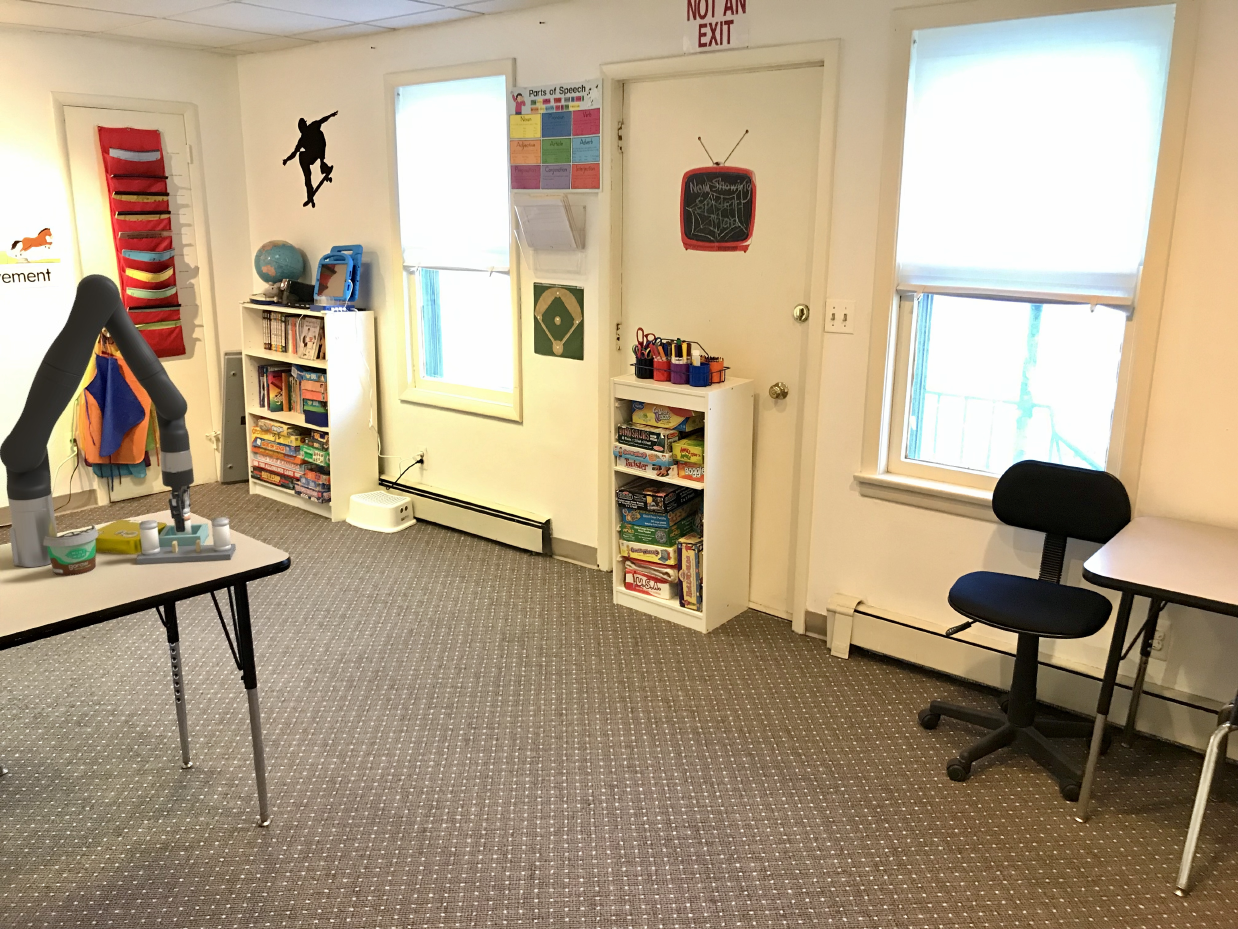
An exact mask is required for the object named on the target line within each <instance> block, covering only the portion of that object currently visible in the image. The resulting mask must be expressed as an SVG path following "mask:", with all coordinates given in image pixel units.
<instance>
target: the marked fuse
mask: <svg viewBox="0 0 1238 929" xmlns="http://www.w3.org/2000/svg"><path fill="white" fill-rule="evenodd" d="M181 507H182V506H181ZM190 508H191V506H190V507H188V506H186V509H185V510H184V515H185V517H184V520H185V531H184V532H176V527H175V519H173V525H174V527H175V536H176V535H192V531H191V524H192V521H191V509H190ZM176 514H179V512H178V511H176Z"/></svg>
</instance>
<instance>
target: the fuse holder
mask: <svg viewBox="0 0 1238 929" xmlns="http://www.w3.org/2000/svg"><path fill="white" fill-rule="evenodd" d="M142 521H143V522H140V523H139V528H140V536H141V545H142V552H140V553H139V554H138V556H136V565H148V564H149V565H151V564H167V563H168V564H169V563H170V564H171V563H189V562H190V563H191V562H193V563H194V562H210V561H211V562H212V561H230V560H232V558H233V555H234V554H235V551H236V547H237V546H236V543H231V534H230V519H229V518H228V517H225V516H224V517H223V516H222V517H215V518H213V519H211V529H212V530H211V531H212V540H213V541H212V542H213V544H204V545H201V540H197V541H196V546H177V541H173V543H172V547H159V538H158V528H157V527H158V526H157V522H158V521H157V520H153V519H152V520H151V519H150V520H142Z"/></svg>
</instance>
